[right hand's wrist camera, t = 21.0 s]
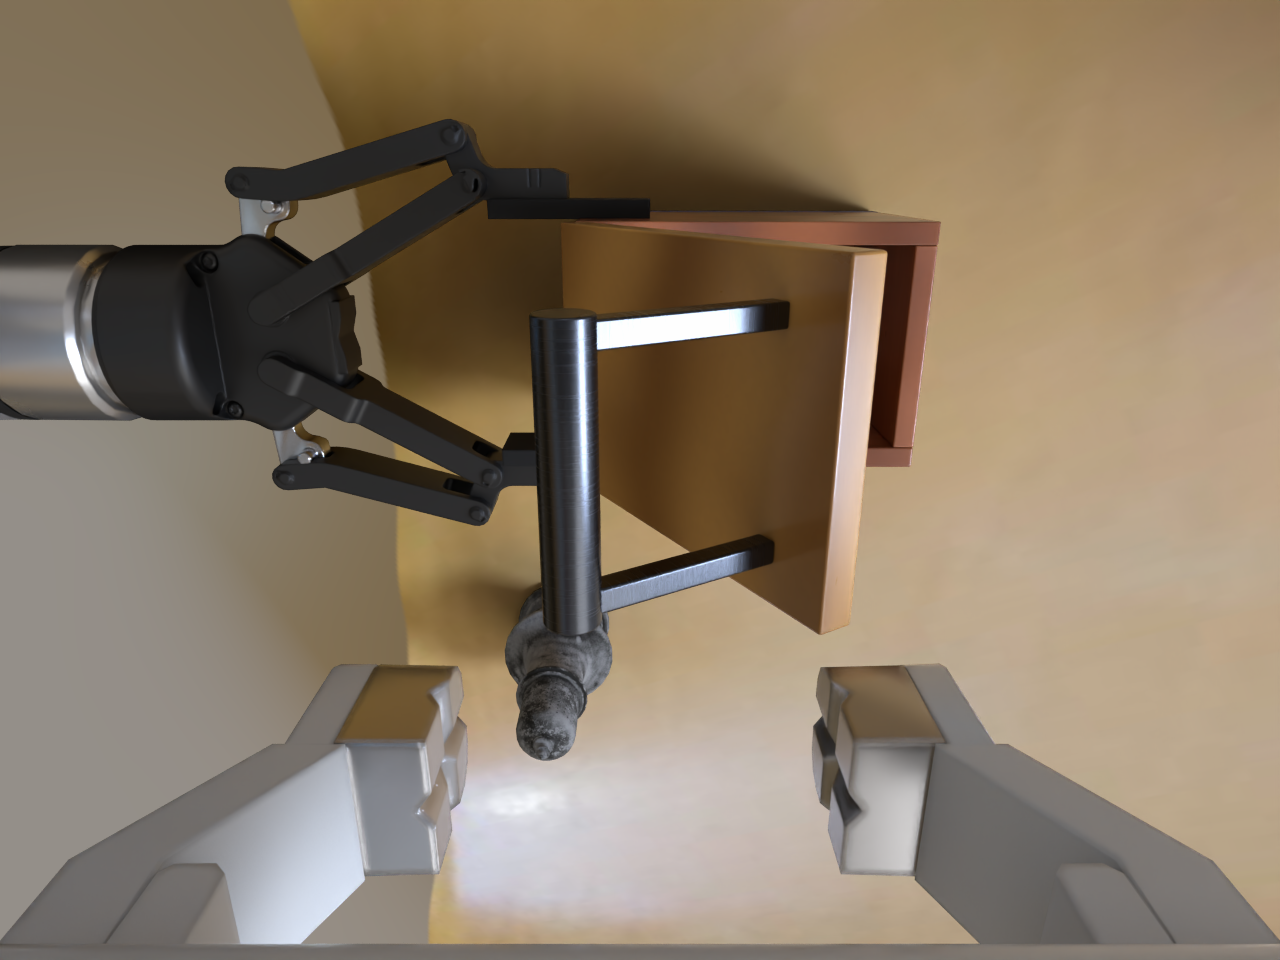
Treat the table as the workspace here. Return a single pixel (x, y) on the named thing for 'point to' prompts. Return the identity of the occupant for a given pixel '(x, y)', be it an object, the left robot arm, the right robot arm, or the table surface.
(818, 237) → the chest
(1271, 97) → the table surface
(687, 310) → the lid
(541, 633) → the grey chess piece
